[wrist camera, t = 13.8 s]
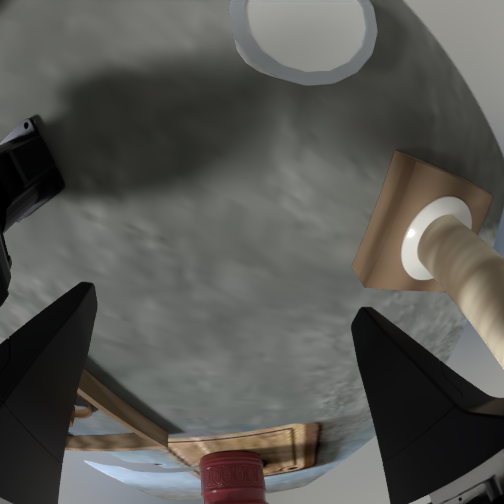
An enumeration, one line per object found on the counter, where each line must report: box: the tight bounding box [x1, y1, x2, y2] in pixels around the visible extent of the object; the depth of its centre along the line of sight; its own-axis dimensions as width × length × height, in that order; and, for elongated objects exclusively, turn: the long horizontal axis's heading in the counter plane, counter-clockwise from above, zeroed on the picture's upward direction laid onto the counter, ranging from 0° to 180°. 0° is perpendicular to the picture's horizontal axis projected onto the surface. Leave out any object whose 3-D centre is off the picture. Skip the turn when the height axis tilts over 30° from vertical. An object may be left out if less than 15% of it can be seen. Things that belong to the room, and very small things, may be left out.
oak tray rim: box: [65, 368, 168, 451], centre depth 33 cm, size 26×26×3 cm
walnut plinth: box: [352, 150, 493, 292], centre depth 23 cm, size 11×11×3 cm
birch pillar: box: [417, 215, 504, 370], centre depth 16 cm, size 5×5×13 cm
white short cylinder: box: [228, 0, 378, 86], centre depth 12 cm, size 7×7×7 cm
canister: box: [199, 451, 269, 504], centre depth 43 cm, size 13×13×18 cm
